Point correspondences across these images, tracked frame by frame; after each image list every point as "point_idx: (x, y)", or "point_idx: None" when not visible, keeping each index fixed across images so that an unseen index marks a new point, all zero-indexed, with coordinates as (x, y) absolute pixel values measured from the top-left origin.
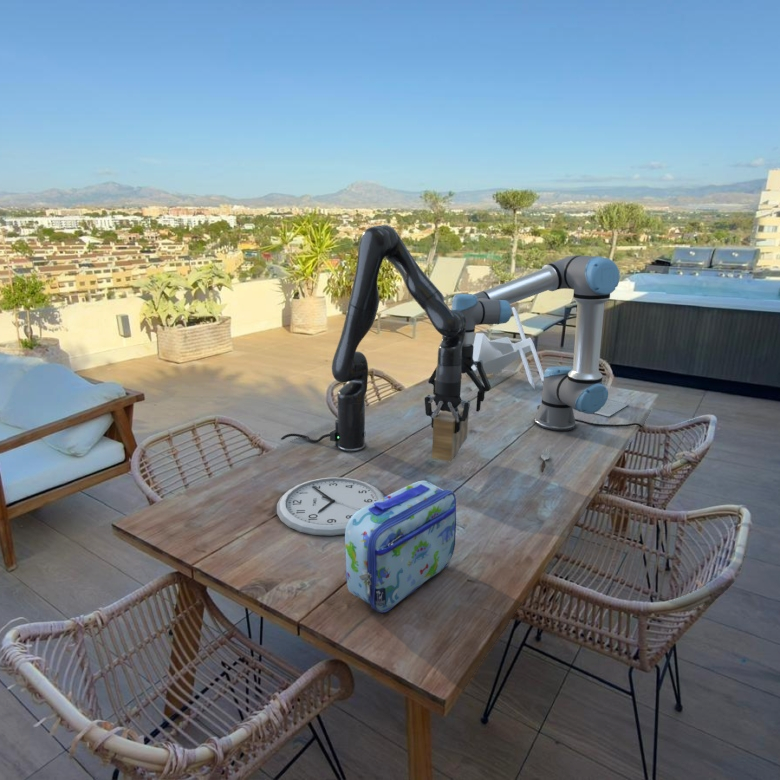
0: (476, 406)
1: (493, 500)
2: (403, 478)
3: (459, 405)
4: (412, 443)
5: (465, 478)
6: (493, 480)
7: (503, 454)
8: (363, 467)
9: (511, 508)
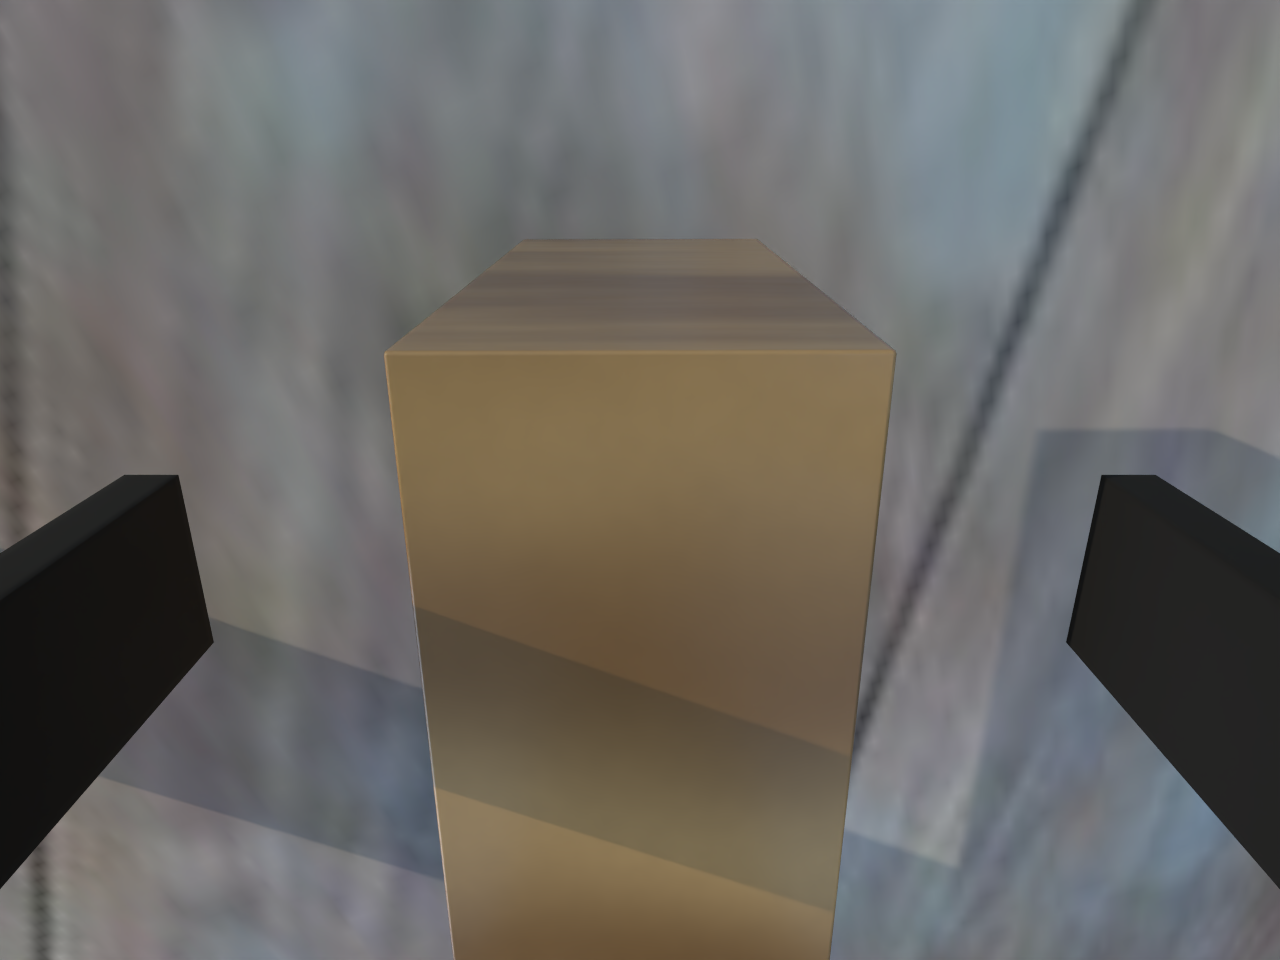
0: (1127, 710)
1: (1054, 916)
2: (416, 873)
3: (704, 687)
4: (132, 238)
5: None
6: (1048, 683)
7: (1147, 109)
8: (75, 836)
9: (1164, 956)
